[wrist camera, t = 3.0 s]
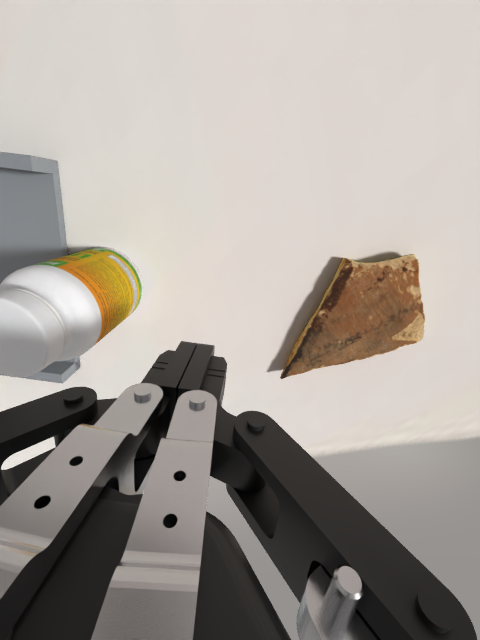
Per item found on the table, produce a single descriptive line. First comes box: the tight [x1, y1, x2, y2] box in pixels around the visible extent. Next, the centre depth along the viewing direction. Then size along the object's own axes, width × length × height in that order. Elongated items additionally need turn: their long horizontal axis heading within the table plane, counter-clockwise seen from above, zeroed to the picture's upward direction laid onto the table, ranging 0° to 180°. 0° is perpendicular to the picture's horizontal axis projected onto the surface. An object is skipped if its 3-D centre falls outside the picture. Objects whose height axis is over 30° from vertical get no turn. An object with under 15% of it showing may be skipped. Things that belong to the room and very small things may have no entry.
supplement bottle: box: [0, 247, 143, 377], centre depth 17 cm, size 5×5×10 cm
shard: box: [280, 254, 425, 379], centre depth 21 cm, size 11×8×2 cm
